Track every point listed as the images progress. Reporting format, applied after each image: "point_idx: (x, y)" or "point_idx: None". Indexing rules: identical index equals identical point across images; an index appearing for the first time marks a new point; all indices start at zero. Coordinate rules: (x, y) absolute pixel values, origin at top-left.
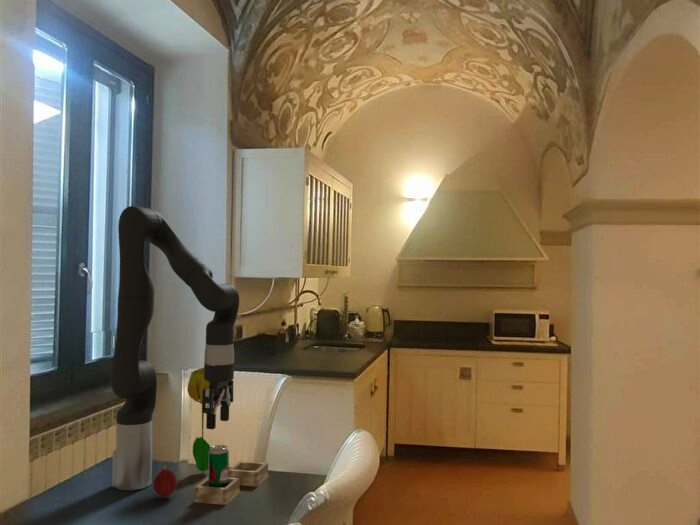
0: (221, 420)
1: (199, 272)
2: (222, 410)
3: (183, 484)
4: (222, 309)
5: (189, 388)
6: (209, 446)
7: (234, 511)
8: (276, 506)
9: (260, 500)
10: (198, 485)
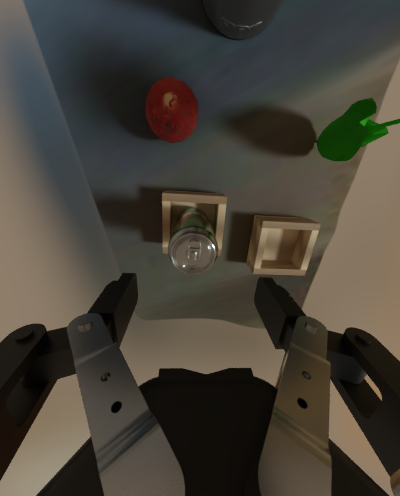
0: (258, 280)
1: None
2: (274, 311)
3: (252, 126)
4: None
5: None
6: (353, 155)
7: (145, 261)
8: (175, 304)
9: (192, 281)
10: (171, 196)
